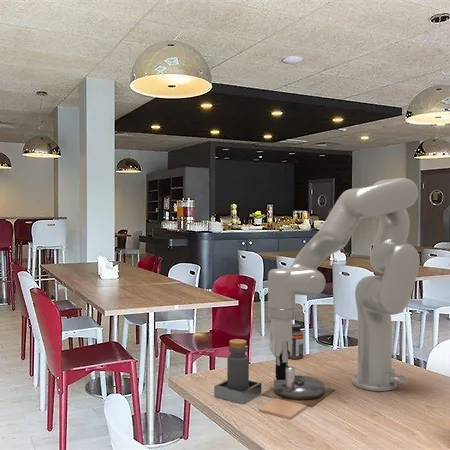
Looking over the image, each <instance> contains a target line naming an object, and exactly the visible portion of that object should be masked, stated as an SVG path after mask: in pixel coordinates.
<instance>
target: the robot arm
mask: <svg viewBox="0 0 450 450" xmlns="http://www.w3.org/2000/svg"><path fill="white" fill-rule="evenodd" d="M418 196H419V189H418V186H417V184H416V183H415V182H414V181H413V180H411V179H410V178H407V177H397V178H390V179H389V178H388V179H380V180H378V181H377V182H375V183H373V185H371V186H365V187H357V188H356V187H355V188H350V189H347V190H344V191H343V192H342V193H341V195H340V196H339V197H338V199H337V200H336V202H335V204H334V206H333V207H332V209H331V210H330V212H329V214H328V216H327V217H326V219H325V221H324V222H323V224H322V226H321V227H320V229H319V230H318V231H317V232H316V234H314V235H313V236H312V238H311V239H310V240H309V241H308V242H307V243H306V244H305V245H304V246H303V247H302V248H301V249H300V251H299V252H298V253H297V255H296V257H295V259H294V260H293V261H292V263H291V265H290V267H289V268H273V269H270V270H269V271H268V274H267V318H268V320H269V321H270V325H269V351H270V352H271V354H272V356H273V357H274V358H275V380H276V379H277V380H286V367H287V366H289V358H288V356H289V357H290V356H292V324H293V322H292V321H295V320H296V295H297V296H299V295H300V296H309V297H311V296H312V297H313V296H317V295H319V294H321V293H322V292H323V290H324V289H325V287H326V282H327V281H326V278H325V276H324V274H323V273H322V272H321V271H319V270H318V268H319V266H321V263H323V261H325V259H326V258H328V257H330V256H331V255H332V254H333V255H334V253H337V252H339V251H340V250H342V249H343V248H344V247H346V246H347V244H348V243H349V241H350V239H351V237H352V235H353V234H354V232H355V231H356V229H357V228H358V226H359V224H360V223H361V220H362V219H372V218H376V217H378V218H379V223H378V224H379V225H378V229H377V232H376V236H375V239H374V241H373V245H372V249H371V253H370V256H369V263H370V265H371V268H373V270H375V271H377V272H379V273H383V275H382V276H378V275H367V276H364V277H363V278H361V279H360V280H359V281H358V282H357V284H356V287H355V291H354V297H355V304H356V310H357V374H356V375H354V376H352V379H351V381H352V384H353V385H354V386H355V387H357V388H360V389H363V390H367V391H373V392H388V391H393V390H395V389H396V388H397V387H398V384H399V385H404V386H406V385H407V381H408V380H407V377H405V376H404V375H399V374H397V373H396V371H395V368H393V367H392V366H393V365H392V364H393V363H392V361H393V360H392V359H393V352H392V351H393V350H392V349H393V347H392V346H393V342H392V341H393V323H392V317H391V316H392V315H393V316H394V315H395V316H396V315H398V314H401V313H402V312H403V311H404V310H405V309H406V308H407V306H408V304H409V302H410V299H411V297H412V293H413V290H414V287H415V283H416V281H417V276H418V274H419V270H420V264H421V263H420V262H421V260H420V255H419V252H418V250H417V248H415V246H413V244H410V243H408V242H407V241H408V236H409V233H410V228H411V227H410V226H411V223H410V222H411V221H410V217H409V213H408V211H407V208H410V207H411V206H413V205H414V204H415V203H416V201H417V200H418Z"/></svg>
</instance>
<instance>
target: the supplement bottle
mask: <svg viewBox="0 0 450 450" xmlns="http://www.w3.org/2000/svg"><path fill="white" fill-rule="evenodd" d="M301 327H302V326H301V324H298V323H292V356H290V357H289V356H288V359H290V360H300V359H303V357H304V332H303V331H302V330H301Z"/></svg>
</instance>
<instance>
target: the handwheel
mask: <svg viewBox="0 0 450 450" xmlns="http://www.w3.org/2000/svg"><path fill="white" fill-rule="evenodd" d="M295 370H296V367H295V366H292V365H288V366H287V367H286V380H277V379H276V378H275V379H274V380H273V387H274V392H275V393H276V394H277V395H279V396H282V397H285V398H289V399H297V400H308V399H315V398H318V397H321V396H322V395H323V394H324V387H325V383H324V381H322V380H321V379H319V378H316V377H312V376H309V375H296V371H295Z"/></svg>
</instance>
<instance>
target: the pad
mask: <svg viewBox="0 0 450 450" xmlns="http://www.w3.org/2000/svg"><path fill="white" fill-rule="evenodd" d="M307 408H308V406H307V405H303V404H299V403H295V402H290V401H286V400H282V399H278V398H276V399H275V398H273V399H272V400H271V401H269V402H267V403H265V404H263V405H262V406H261V407H259V408H258V412H261V413H264V414H268V415H273V416H276V417H280V418H284V419H288V420H292V419H293V418H295V417H296V416H297V415H299V414H300V413H301V412H303V411H305V410H306V409H307Z"/></svg>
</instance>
